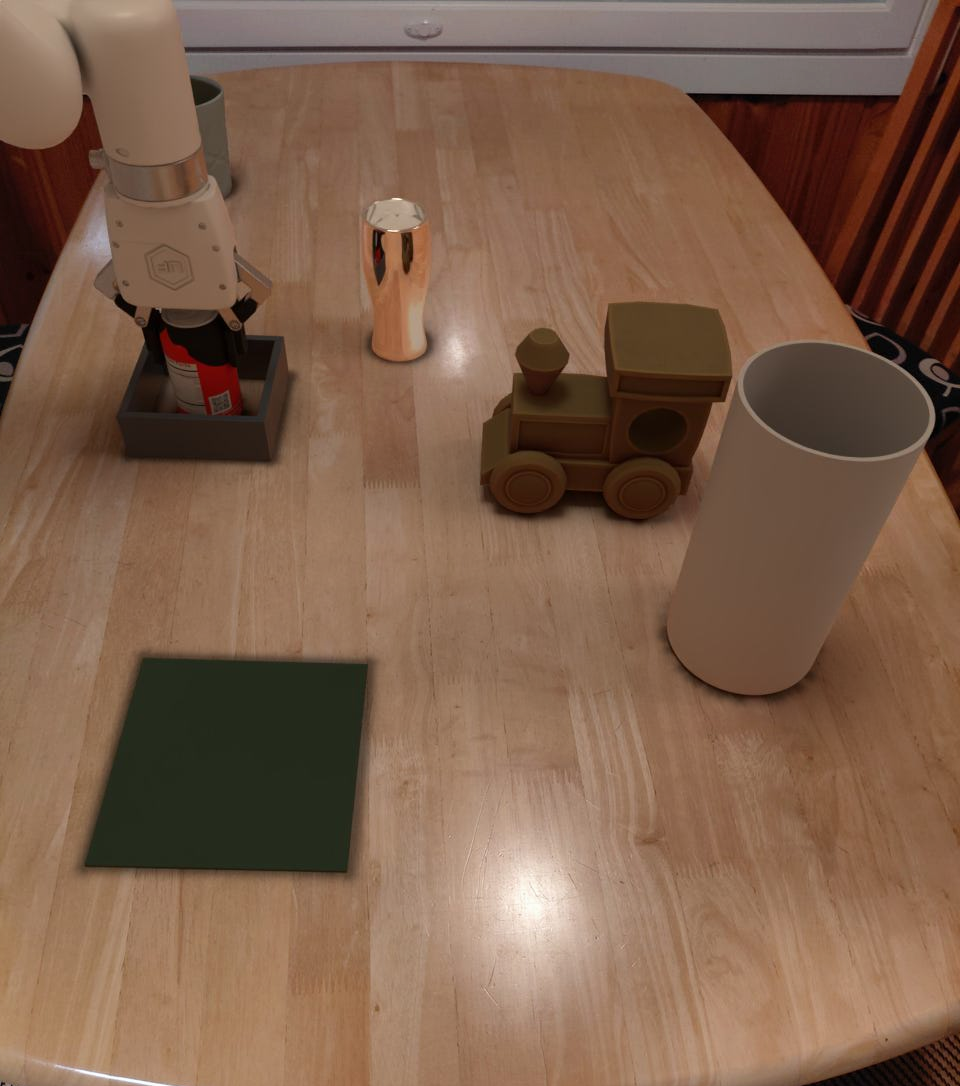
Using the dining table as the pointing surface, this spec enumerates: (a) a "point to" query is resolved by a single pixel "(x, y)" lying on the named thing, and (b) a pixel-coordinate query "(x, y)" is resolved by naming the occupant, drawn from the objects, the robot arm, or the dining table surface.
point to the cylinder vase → (793, 509)
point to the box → (202, 431)
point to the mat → (234, 767)
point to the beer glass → (397, 274)
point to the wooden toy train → (610, 412)
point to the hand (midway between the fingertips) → (199, 356)
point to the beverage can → (199, 362)
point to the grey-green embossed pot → (212, 129)
